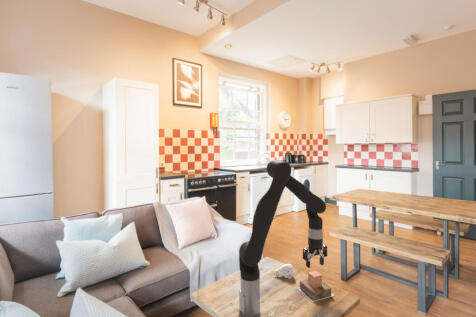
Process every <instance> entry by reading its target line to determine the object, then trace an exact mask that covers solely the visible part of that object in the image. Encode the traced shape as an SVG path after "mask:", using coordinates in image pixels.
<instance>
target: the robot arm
mask: <svg viewBox="0 0 476 317" xmlns="http://www.w3.org/2000/svg"><path fill="white" fill-rule="evenodd" d="M266 173H267V174H268V175H269V177H270V178H272V181H271V182H270V183H271V184H270V185H269V188H268V190H267V191H266V192H265V193H264V195H262V196H261V198H260V199H259V200H258V202H257V204H256V207H255V211H254V214H253V218H252V219H253V220H252V228H251V235H250V238H249V240H247V241H245V242H242V244H241V245H240V247H239V251H238V262H239V273H240V290H239V291H238V292H239V294H238V295H239V296H238V297H239V300H238V301H239V302H238V304H239V305H238V306H239V311H240V312H241V315H242V316H243V317H257V316H258V315H260V313H261V284H260V283H261V281H260V279H261V278H260V277H261V274H260V273H261V272H260V268H259V263H260V261H261V260H262V257H263V252H264V247H265V243H266V240H267V237H268V234H269V232H270V229H271V226H272V223H273V221H274V218H275V215H276V212H277V209H278V206H279V203H280V200H281V197H282V196H283V193H284V191H285V188H286V189H287V190H289V192H291V193H292V194H293V195H294V196H295V197H296V198H297V199H298V200H300V202H302V203H303V204H305V210H306V214H307V215H306V216H307V218H308V230H307V245H308V247H307V248H305V247H303V249H302V260H304V261H305V266H306V268H308V269H311V260H312V259H313V258H314V257H315V256H319V265H321V266H324V265H325V259H326V257H328V246H327V245H325V244H324V243H323V242H324V232H323V231H324V230H323V218H322V217H321V216H319V214H323V213H324V212H326V209H327V204H326V202H325V201H324V200H323V199H322V198H320V197H319V195H316V194H315V193H313V191H311V190H310V189H309V188H307V186H306V185H305V184H303V183H302V182H301V181H299V180H297V179H296V178H295V177H293V176H292V175H291V174H292V166H291V164H290V163H289V162H287V161H284V160H279V159H272V160H270V161H269V162H268V164H267V165H266Z"/></svg>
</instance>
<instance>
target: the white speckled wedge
mask: <svg viewBox="0 0 476 317" xmlns="http://www.w3.org/2000/svg"><path fill="white" fill-rule="evenodd" d="M293 274H294V265H292V263H285V264H283V265H282V266H280V267H279V268H278V269H277V268H276V269H274V270H273V275H274V276H275V277H276V278H279V276H281V277H283V278H284V279H288V280H291V279H292V278H293Z"/></svg>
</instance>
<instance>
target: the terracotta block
mask: <svg viewBox="0 0 476 317" xmlns="http://www.w3.org/2000/svg"><path fill="white" fill-rule="evenodd" d="M307 278H308V279H307V280H308V284H310V285H311V286H312V287H313V288H316V287H320V286H322V282H323V275H322V274H321V273H320V272H318V271H317V270H315V271H314V270H313V271H309V272H307Z"/></svg>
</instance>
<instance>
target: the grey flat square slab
mask: <svg viewBox="0 0 476 317" xmlns="http://www.w3.org/2000/svg"><path fill="white" fill-rule="evenodd" d="M296 290H298V291H299V292H300V293H301V294H302V295H304V296H305V298H307V299H308V300H309V301H311V303H315V302H319V301H323V300H326V299H328V298H329V299H330V298H332V297H335V294H333V293H331V296H328V297H324V298H321V299H317V300H313V299H312V298H310V297H309V296H308V295H307V294H306V293H305V292H303V291H302V290H301V289H300V286H299V287H296Z"/></svg>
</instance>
